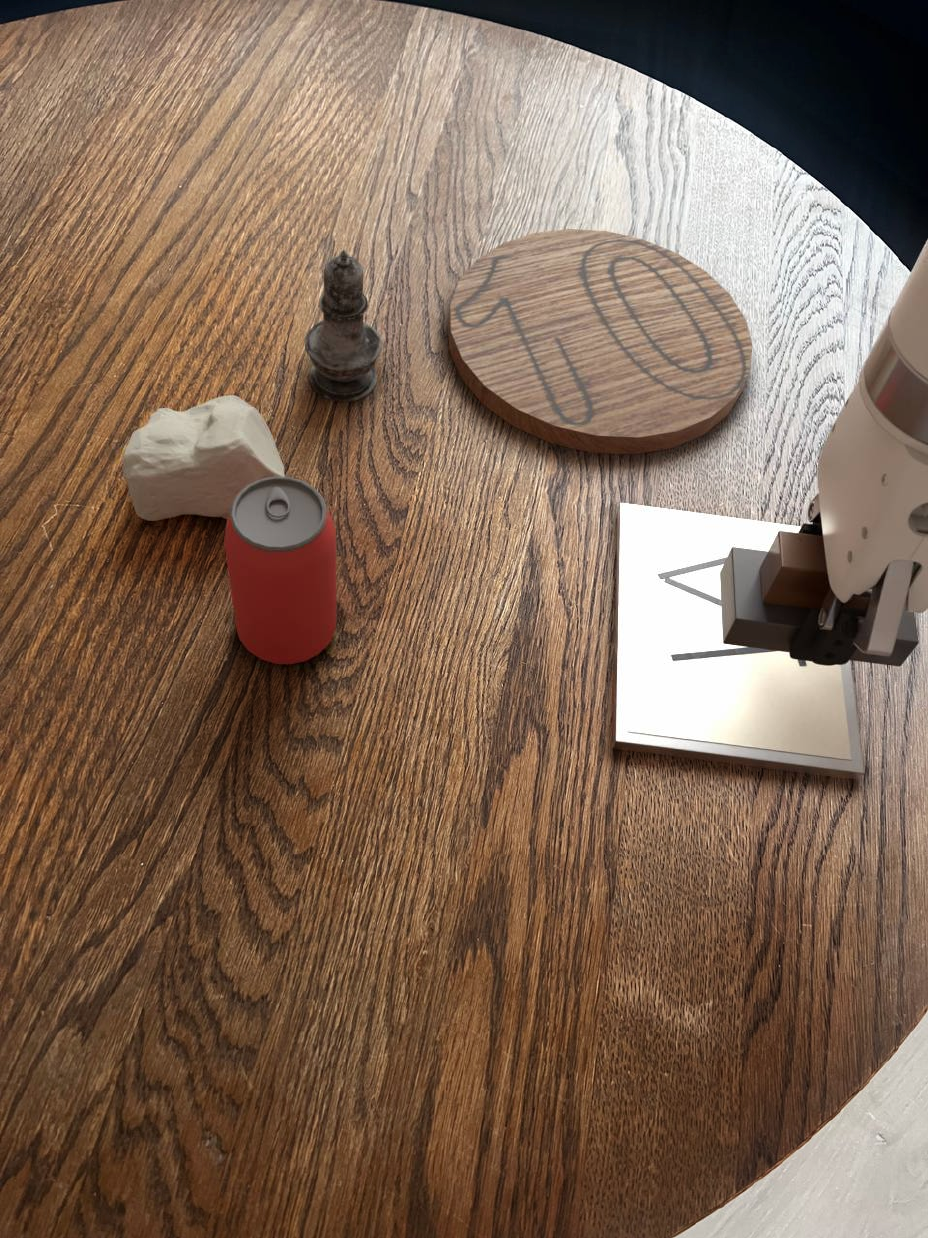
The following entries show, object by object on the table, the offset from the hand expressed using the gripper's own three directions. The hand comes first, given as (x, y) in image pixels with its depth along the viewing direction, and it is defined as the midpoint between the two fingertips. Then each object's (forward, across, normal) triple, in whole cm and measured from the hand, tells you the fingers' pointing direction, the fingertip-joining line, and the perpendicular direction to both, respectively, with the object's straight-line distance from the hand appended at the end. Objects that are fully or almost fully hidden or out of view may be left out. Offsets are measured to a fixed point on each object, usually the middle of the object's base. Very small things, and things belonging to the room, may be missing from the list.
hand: (812, 612), depth 63 cm
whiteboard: (+13, +7, +1) cm, 15 cm away
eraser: (+1, 0, 0) cm, 1 cm away
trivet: (+13, +35, +11) cm, 39 cm away
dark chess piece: (+13, +27, +31) cm, 43 cm away
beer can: (+13, +3, +31) cm, 34 cm away
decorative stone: (+13, +15, +39) cm, 44 cm away
